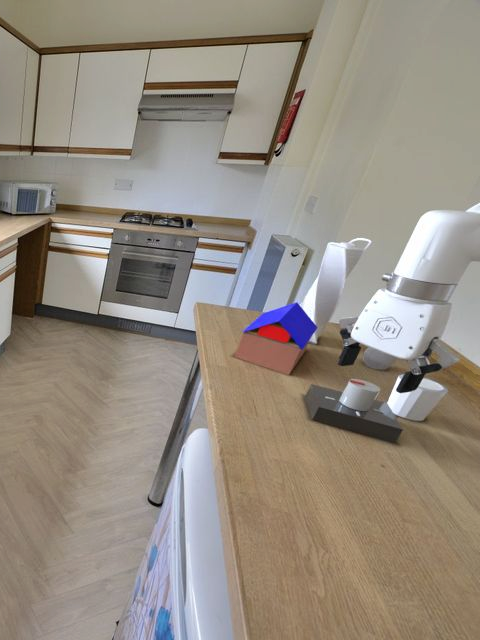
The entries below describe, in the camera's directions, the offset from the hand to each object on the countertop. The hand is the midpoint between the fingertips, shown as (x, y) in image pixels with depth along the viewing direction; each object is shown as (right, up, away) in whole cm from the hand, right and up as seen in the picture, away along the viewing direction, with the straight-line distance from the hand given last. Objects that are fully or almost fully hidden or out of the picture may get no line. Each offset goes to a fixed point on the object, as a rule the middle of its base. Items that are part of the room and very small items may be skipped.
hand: (372, 377), depth 75 cm
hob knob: (-1, -5, +3) cm, 6 cm away
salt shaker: (+25, 0, +25) cm, 36 cm away
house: (+2, +3, +29) cm, 29 cm away
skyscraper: (+19, +7, +39) cm, 44 cm away
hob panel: (-1, -8, +4) cm, 9 cm away
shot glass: (+13, -8, +7) cm, 17 cm away
